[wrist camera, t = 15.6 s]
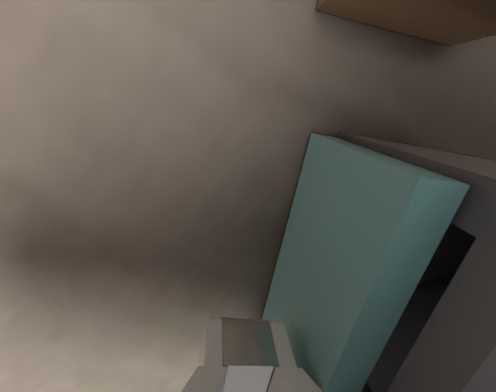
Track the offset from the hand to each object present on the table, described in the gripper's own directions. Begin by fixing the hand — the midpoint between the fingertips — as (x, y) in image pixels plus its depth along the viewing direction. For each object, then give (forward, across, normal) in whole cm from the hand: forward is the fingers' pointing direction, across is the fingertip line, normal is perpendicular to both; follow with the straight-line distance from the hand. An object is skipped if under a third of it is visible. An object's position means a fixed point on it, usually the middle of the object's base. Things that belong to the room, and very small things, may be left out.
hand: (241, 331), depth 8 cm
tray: (+3, -8, +1) cm, 9 cm away
